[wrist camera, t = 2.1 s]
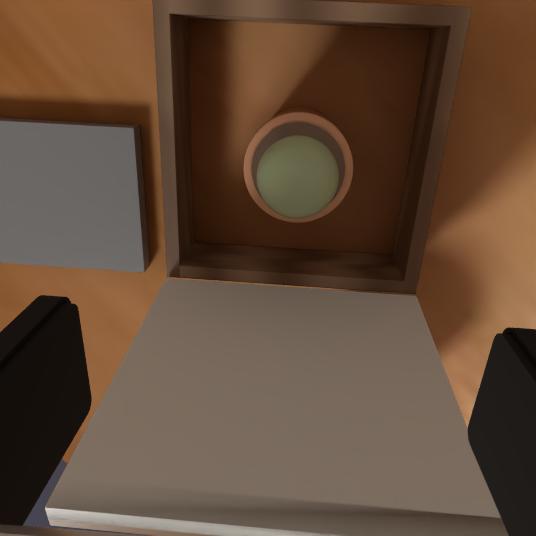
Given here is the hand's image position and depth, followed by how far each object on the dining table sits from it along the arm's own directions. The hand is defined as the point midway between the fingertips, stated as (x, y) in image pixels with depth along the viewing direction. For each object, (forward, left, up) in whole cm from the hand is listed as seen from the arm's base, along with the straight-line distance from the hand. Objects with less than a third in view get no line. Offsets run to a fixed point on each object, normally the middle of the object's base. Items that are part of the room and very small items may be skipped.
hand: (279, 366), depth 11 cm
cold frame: (0, 0, -28) cm, 28 cm away
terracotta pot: (0, 0, -28) cm, 28 cm away
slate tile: (+19, +5, -28) cm, 34 cm away
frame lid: (0, +10, -14) cm, 17 cm away
